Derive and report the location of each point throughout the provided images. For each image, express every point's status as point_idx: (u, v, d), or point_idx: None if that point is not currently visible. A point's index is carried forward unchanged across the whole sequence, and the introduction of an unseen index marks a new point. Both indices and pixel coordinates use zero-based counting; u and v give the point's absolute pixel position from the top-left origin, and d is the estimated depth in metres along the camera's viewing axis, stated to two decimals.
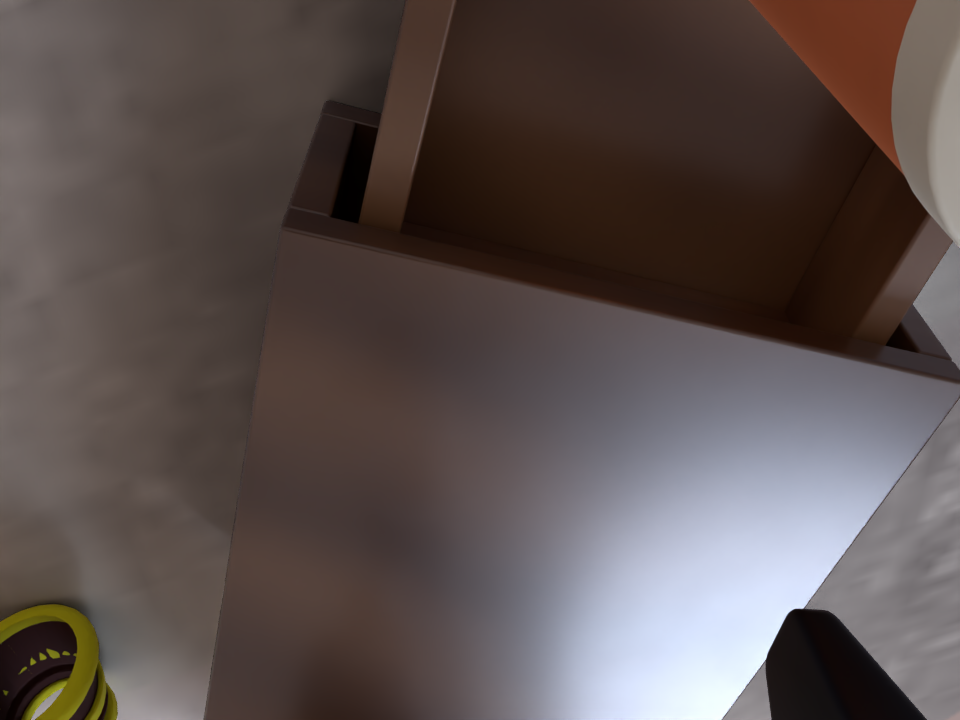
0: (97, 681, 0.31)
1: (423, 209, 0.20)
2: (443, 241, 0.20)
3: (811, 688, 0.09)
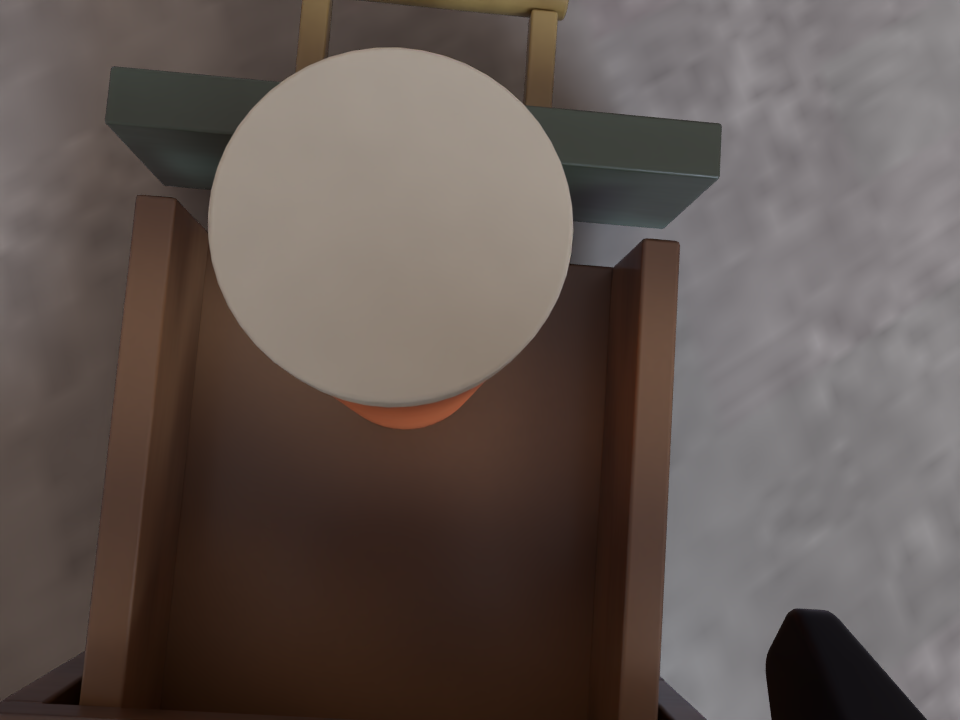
0: None
1: None
2: None
3: (811, 688, 0.09)
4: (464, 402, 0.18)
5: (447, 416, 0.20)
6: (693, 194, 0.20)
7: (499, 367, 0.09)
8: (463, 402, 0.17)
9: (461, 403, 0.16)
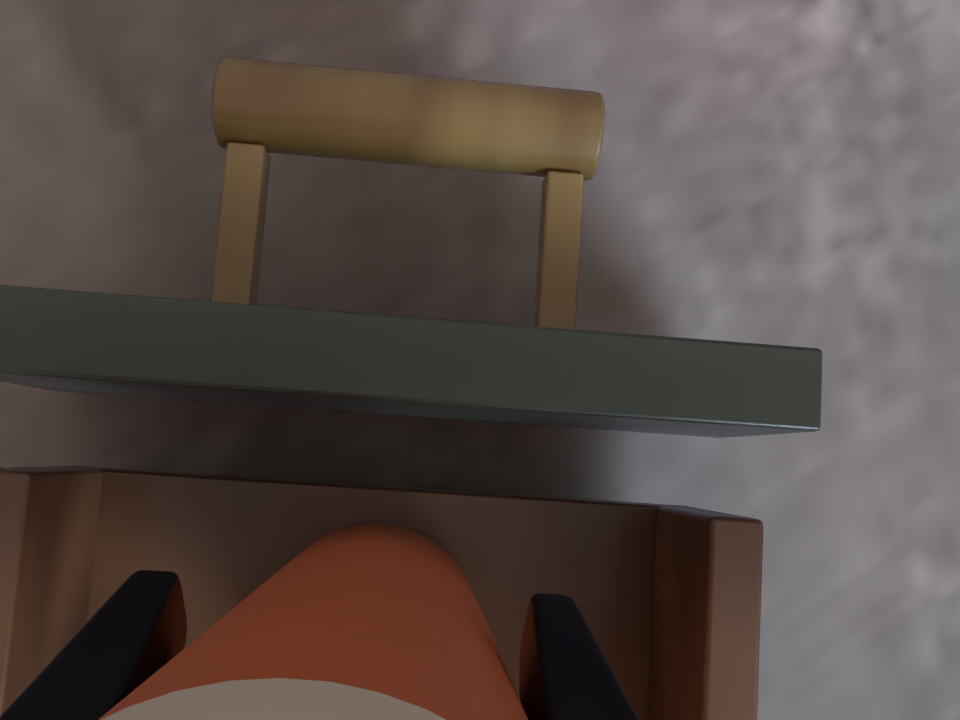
0: None
1: None
2: None
3: (534, 673, 0.09)
4: None
5: None
6: (775, 432, 0.14)
7: None
8: None
9: None
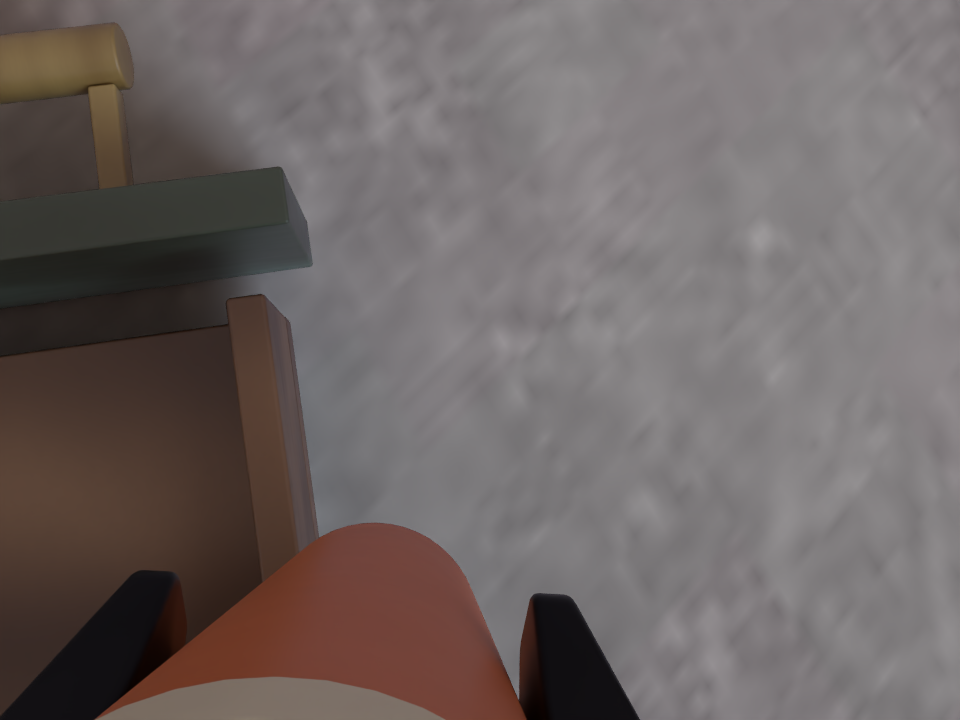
0: None
1: None
2: None
3: (533, 674, 0.09)
4: None
5: None
6: (288, 238, 0.20)
7: None
8: None
9: None
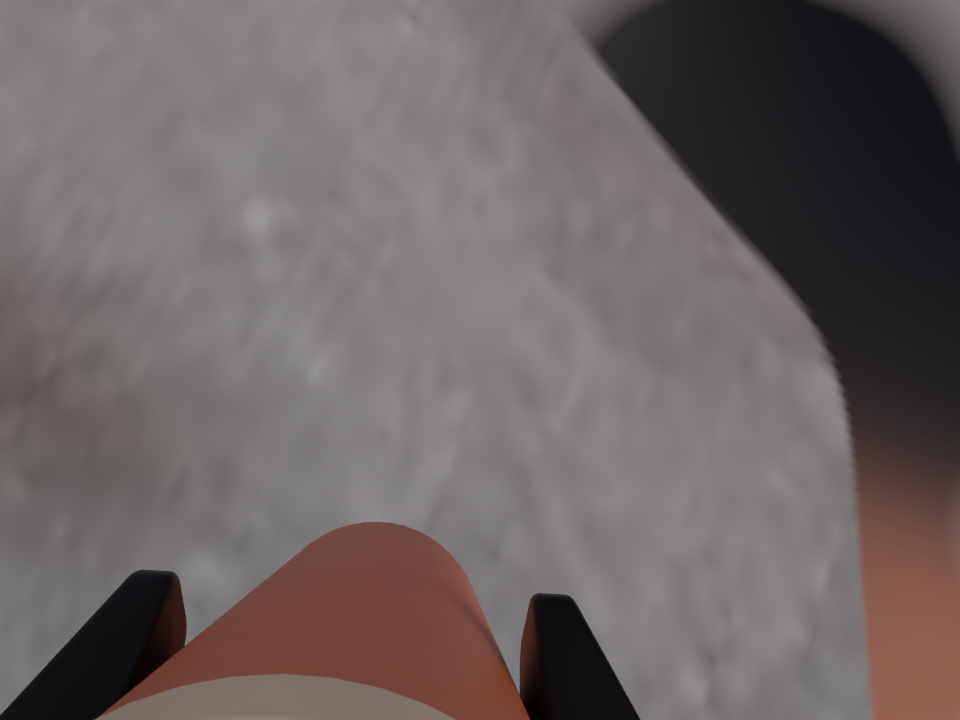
0: None
1: None
2: None
3: (534, 673, 0.09)
4: None
5: None
6: None
7: None
8: None
9: None
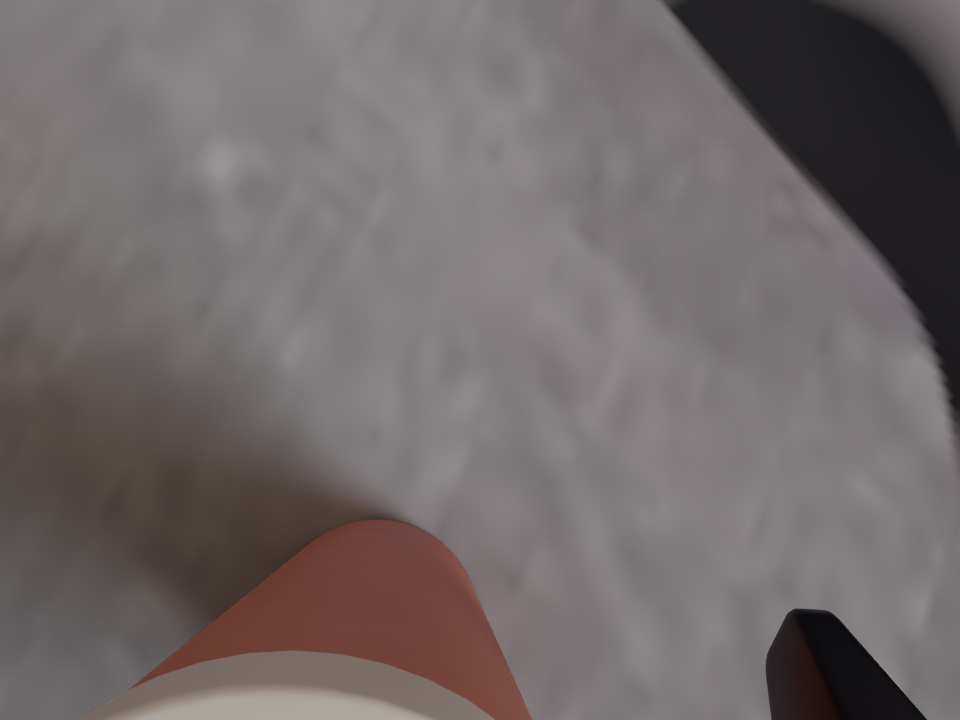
0: None
1: None
2: None
3: (811, 688, 0.09)
4: None
5: None
6: None
7: None
8: None
9: None
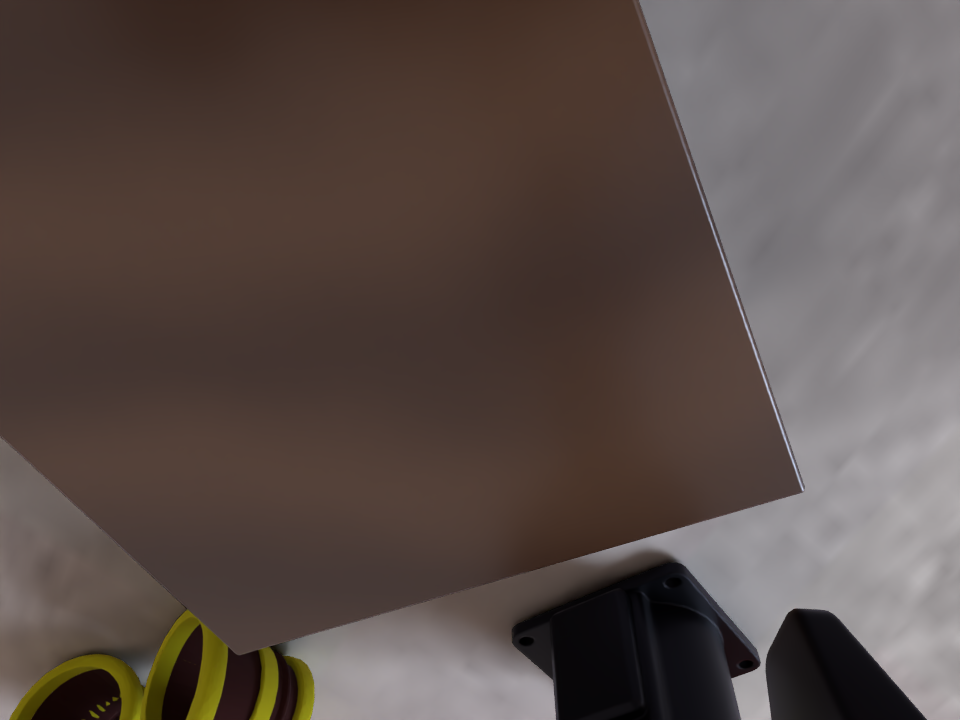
0: (259, 660, 0.30)
1: None
2: None
3: (811, 688, 0.09)
4: None
5: None
6: None
7: None
8: None
9: None
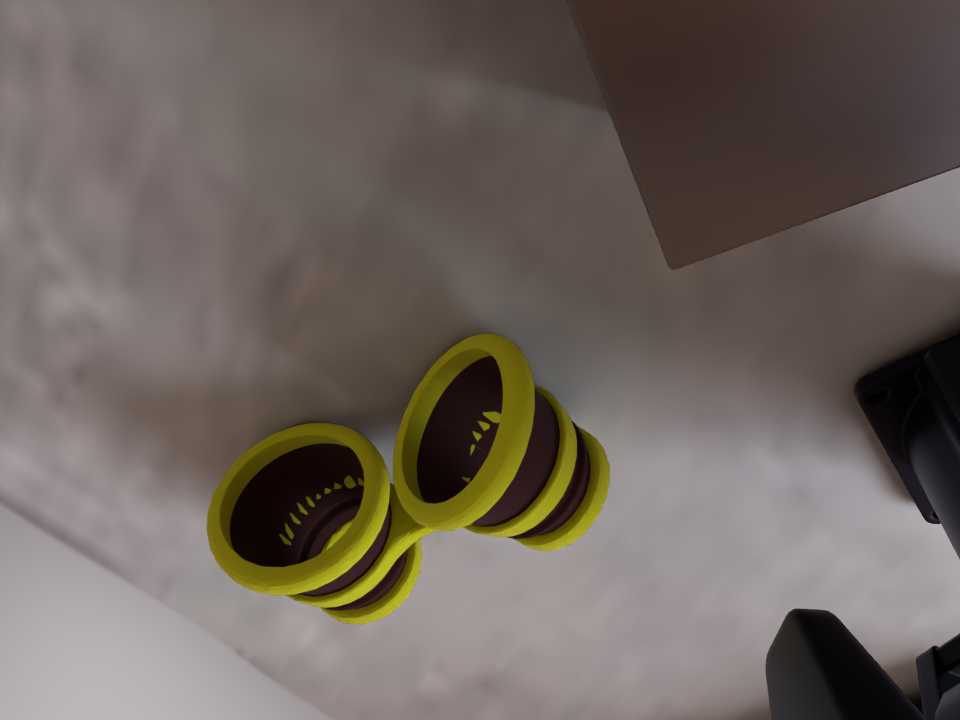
0: (551, 406, 0.23)
1: None
2: None
3: (811, 688, 0.09)
4: None
5: None
6: None
7: None
8: None
9: None
